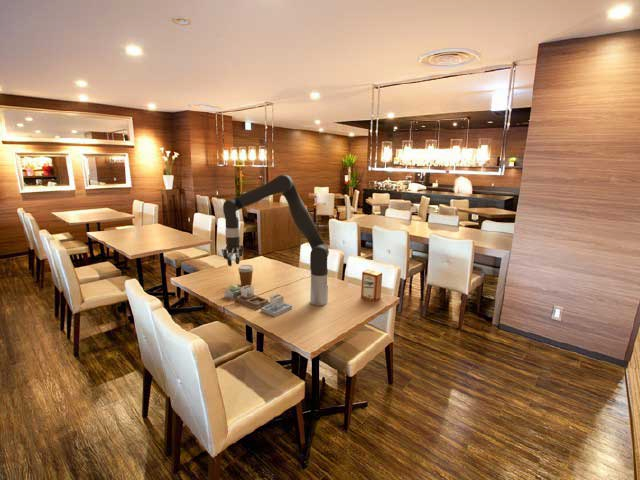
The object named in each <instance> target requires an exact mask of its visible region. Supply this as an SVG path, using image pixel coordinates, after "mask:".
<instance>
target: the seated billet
mask: <svg viewBox="0 0 640 480" xmlns="http://www.w3.org/2000/svg"><path fill="white" fill-rule="evenodd" d="M240 288H241V298H243V299H246V300H248V299H250V298H253V297H254V295H255V293H254V288H255V287H254V286H252V285H250V286H249V285H247V286H241V287H240Z"/></svg>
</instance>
